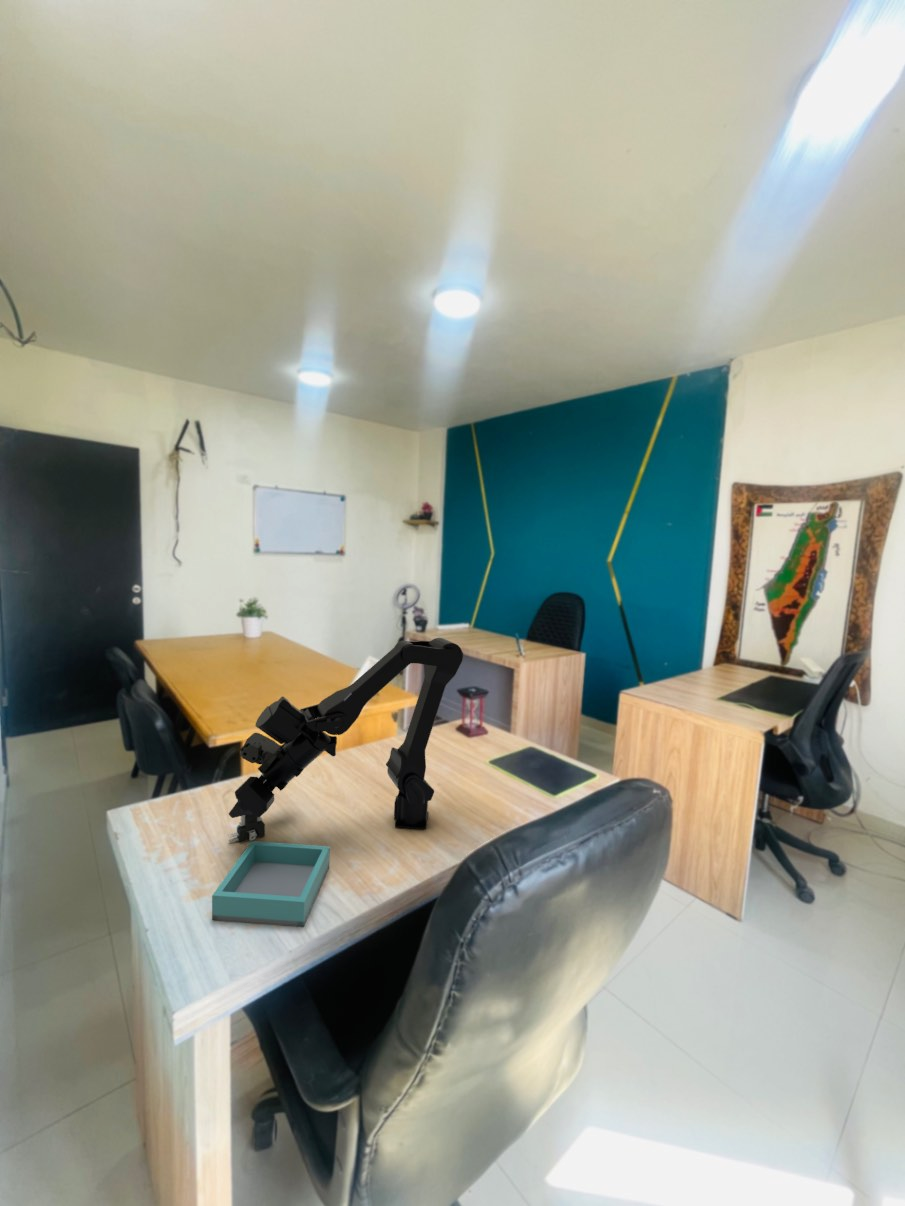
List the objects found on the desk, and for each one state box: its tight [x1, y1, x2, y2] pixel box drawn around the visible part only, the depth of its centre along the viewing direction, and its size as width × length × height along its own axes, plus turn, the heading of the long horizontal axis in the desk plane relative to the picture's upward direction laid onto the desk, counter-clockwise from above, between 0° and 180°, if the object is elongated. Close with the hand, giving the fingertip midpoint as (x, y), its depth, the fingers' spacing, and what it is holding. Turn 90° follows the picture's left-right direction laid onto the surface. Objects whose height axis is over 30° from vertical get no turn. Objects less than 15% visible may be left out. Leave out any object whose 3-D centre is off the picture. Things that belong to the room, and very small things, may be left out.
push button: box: [227, 796, 266, 843], centre depth 96 cm, size 7×5×10 cm
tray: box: [211, 840, 331, 927], centre depth 82 cm, size 14×14×4 cm
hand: (240, 805), depth 96 cm, fingers open, 7 cm apart
